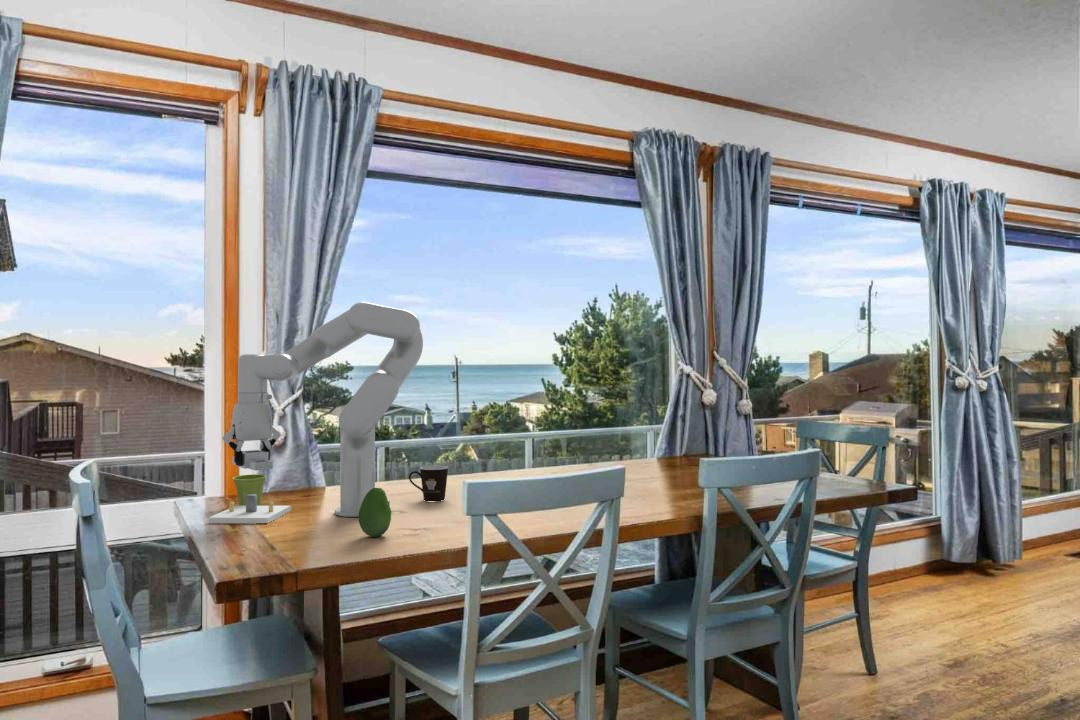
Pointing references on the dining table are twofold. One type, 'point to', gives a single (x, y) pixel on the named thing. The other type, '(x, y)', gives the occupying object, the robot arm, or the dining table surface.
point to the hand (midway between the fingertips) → (252, 463)
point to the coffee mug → (432, 482)
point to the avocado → (375, 513)
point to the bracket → (255, 460)
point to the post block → (249, 512)
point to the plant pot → (249, 487)
